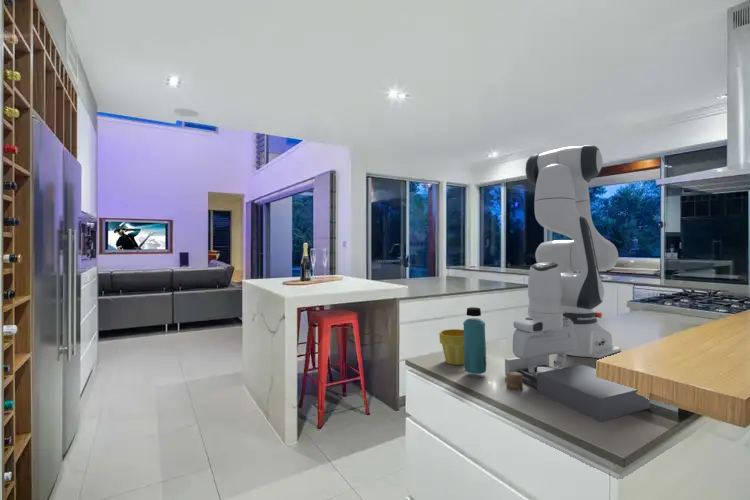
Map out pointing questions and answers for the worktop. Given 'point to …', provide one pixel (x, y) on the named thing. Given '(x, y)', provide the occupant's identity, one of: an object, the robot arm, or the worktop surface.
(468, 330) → the beverage bottle
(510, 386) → the disc stand
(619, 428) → the worktop surface
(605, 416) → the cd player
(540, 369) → the disc
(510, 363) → the tray
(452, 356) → the plant pot
